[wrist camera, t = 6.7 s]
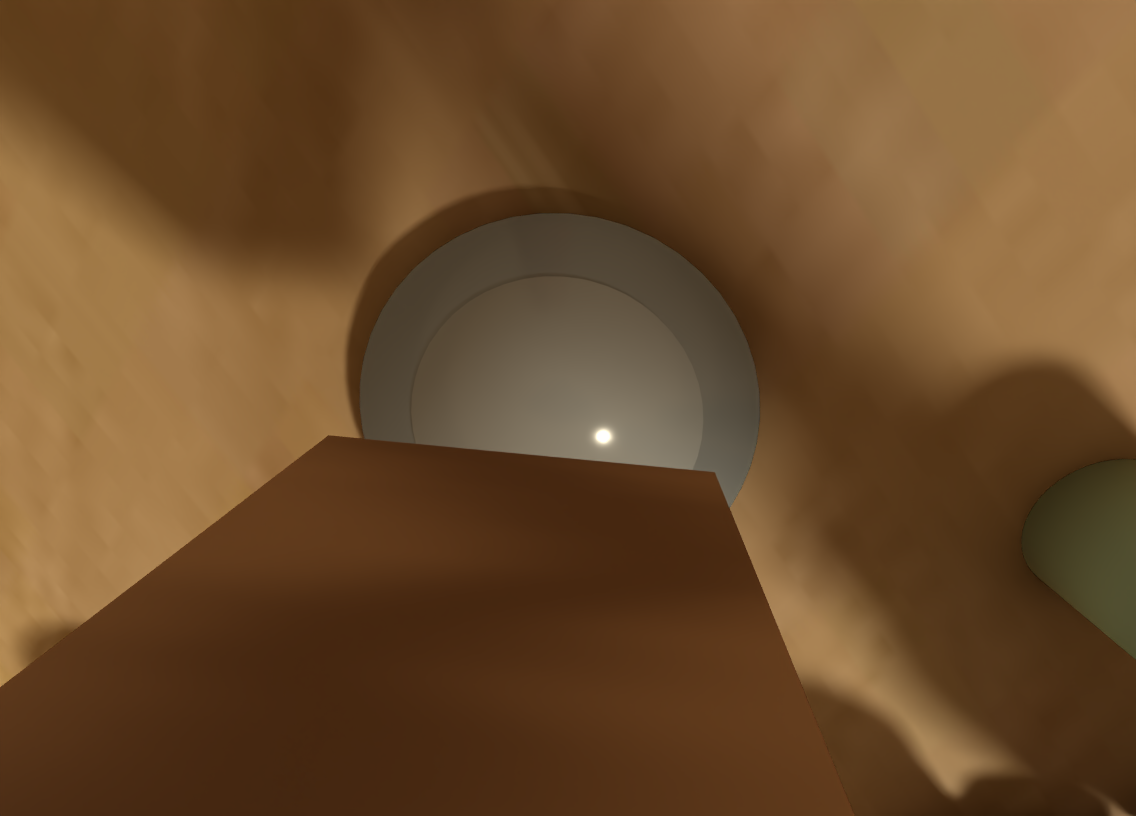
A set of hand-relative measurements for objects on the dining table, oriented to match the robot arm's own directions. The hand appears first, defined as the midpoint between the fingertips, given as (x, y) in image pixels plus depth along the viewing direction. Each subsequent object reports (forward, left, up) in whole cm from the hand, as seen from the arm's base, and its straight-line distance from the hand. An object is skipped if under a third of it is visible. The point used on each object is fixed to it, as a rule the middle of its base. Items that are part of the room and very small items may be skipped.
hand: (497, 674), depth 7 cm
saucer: (0, 0, -10) cm, 10 cm away
